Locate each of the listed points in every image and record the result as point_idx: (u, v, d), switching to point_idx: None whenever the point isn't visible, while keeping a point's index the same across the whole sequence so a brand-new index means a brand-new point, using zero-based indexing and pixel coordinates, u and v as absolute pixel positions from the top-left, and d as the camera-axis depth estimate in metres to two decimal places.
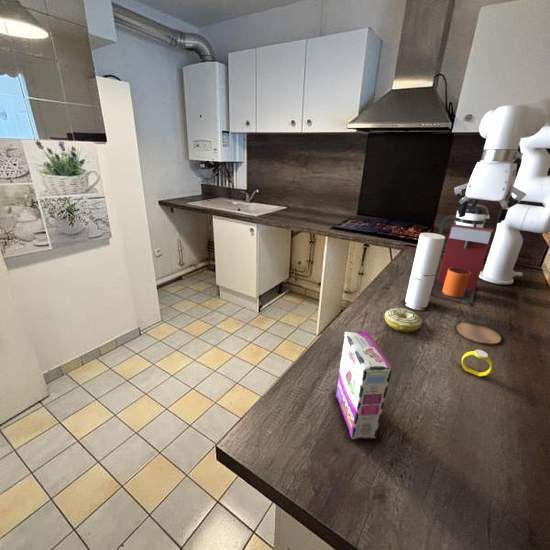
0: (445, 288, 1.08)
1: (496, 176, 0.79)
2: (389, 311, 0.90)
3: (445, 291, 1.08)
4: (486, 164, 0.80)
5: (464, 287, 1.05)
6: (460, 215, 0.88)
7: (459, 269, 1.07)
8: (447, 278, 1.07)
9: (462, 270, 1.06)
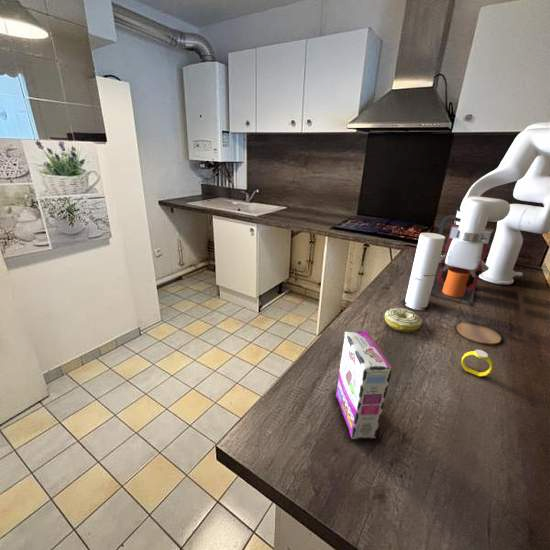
0: (445, 288, 1.08)
1: (470, 252, 1.00)
2: (389, 311, 0.90)
3: (445, 291, 1.08)
4: (462, 242, 1.00)
5: (464, 287, 1.05)
6: (443, 280, 1.08)
7: (459, 269, 1.07)
8: (447, 278, 1.07)
9: (462, 270, 1.06)
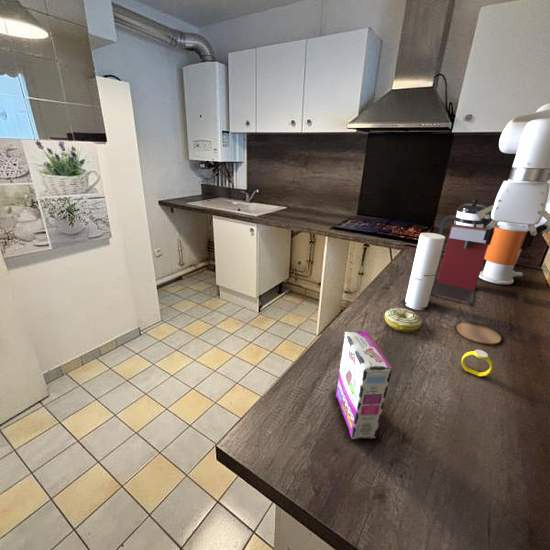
0: (489, 254, 0.78)
1: (530, 198, 0.70)
2: (389, 311, 0.90)
3: (489, 258, 0.78)
4: (518, 184, 0.70)
5: (518, 251, 0.74)
6: (487, 242, 0.78)
7: (510, 226, 0.76)
8: (493, 239, 0.77)
9: (515, 227, 0.76)
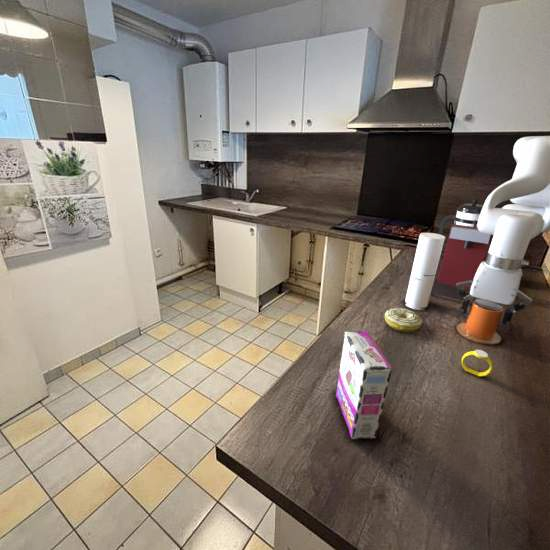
0: (468, 326, 0.85)
1: (504, 282, 0.76)
2: (389, 311, 0.90)
3: (468, 330, 0.85)
4: (493, 269, 0.77)
5: (494, 327, 0.81)
6: (464, 312, 0.85)
7: (487, 303, 0.83)
8: (472, 314, 0.84)
9: (491, 305, 0.83)
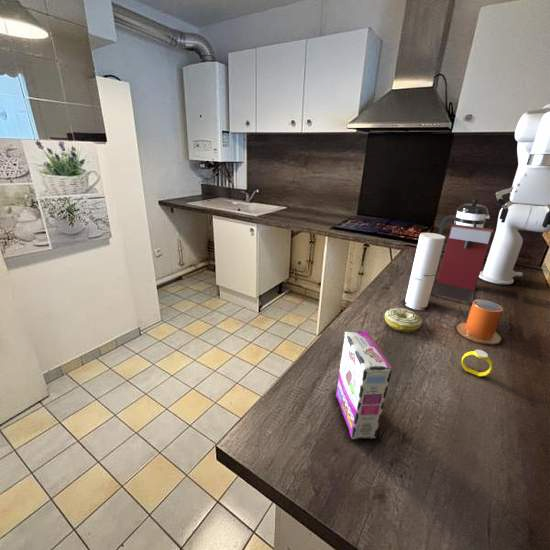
0: (468, 326, 0.85)
1: (547, 181, 0.78)
2: (389, 311, 0.90)
3: (468, 330, 0.85)
4: (536, 169, 0.78)
5: (494, 327, 0.81)
6: (503, 220, 0.86)
7: (487, 303, 0.83)
8: (472, 314, 0.84)
9: (491, 305, 0.83)
